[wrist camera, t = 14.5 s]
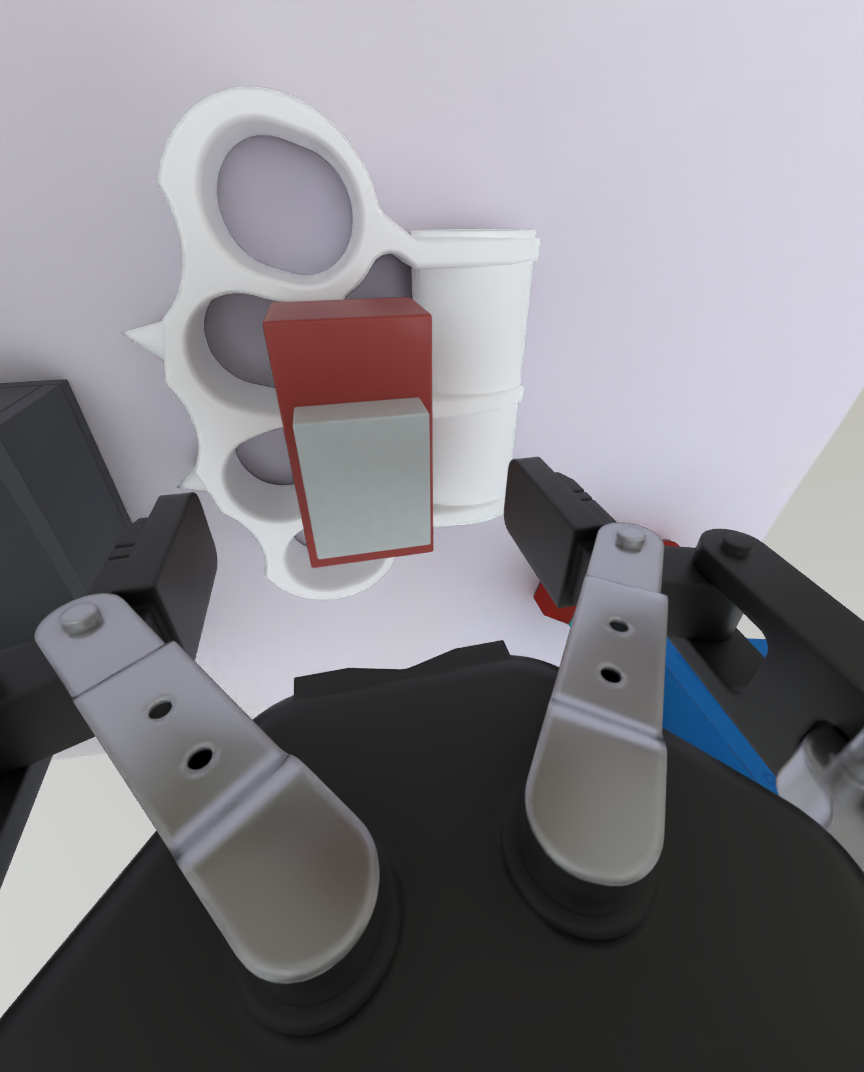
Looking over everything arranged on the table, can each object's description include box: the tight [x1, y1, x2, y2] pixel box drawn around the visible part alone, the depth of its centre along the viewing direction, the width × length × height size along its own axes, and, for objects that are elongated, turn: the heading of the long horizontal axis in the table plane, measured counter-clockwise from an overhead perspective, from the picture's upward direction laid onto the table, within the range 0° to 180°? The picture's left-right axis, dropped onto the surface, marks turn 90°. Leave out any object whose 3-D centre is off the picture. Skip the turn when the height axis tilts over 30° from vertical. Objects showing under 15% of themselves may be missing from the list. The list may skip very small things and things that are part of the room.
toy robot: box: [534, 540, 779, 795], centre depth 20 cm, size 12×6×25 cm, turn 74°
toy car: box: [263, 297, 433, 568], centre depth 15 cm, size 8×4×5 cm, turn 0°
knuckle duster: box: [122, 86, 540, 600], centre depth 19 cm, size 3×18×15 cm
